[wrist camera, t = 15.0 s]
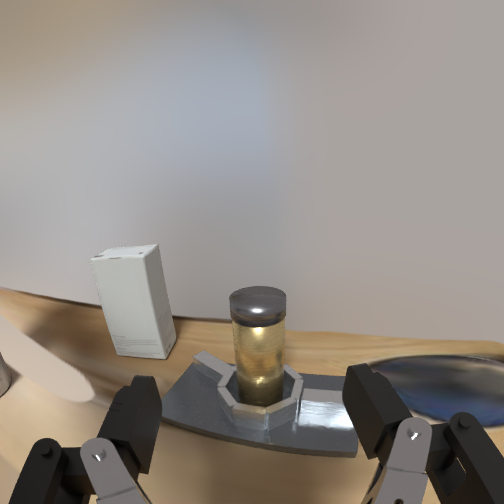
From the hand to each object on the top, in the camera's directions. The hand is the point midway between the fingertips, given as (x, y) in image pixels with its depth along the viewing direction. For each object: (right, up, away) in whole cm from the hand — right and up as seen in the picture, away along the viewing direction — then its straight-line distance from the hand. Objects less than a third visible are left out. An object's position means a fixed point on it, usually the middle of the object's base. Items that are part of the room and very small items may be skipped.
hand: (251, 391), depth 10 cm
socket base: (+1, -11, +16) cm, 19 cm away
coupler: (+1, -10, +15) cm, 18 cm away
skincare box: (-15, -9, +27) cm, 32 cm away
